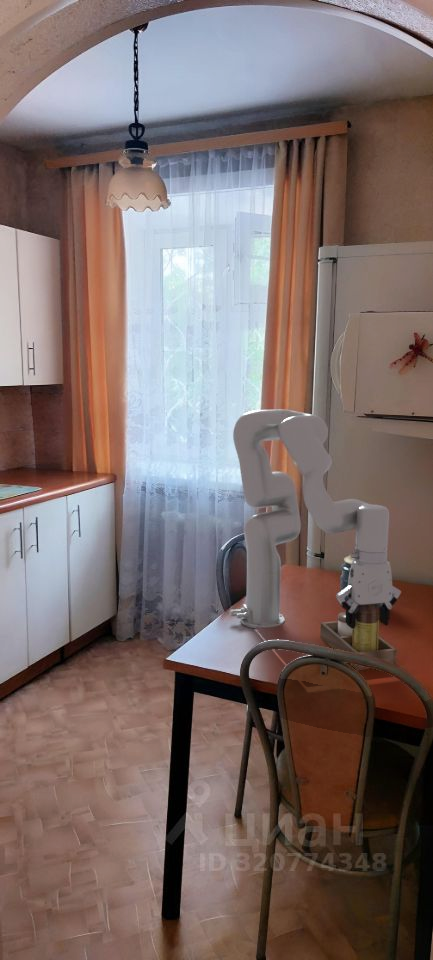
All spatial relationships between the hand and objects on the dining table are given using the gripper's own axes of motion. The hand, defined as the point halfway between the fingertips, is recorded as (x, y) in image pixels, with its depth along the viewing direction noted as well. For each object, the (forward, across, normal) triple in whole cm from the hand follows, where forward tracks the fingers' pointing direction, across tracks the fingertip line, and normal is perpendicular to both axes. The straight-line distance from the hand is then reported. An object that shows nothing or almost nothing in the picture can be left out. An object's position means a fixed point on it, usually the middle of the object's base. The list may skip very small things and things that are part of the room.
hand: (367, 624), depth 162 cm
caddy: (+10, 0, +5) cm, 11 cm away
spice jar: (+9, 0, +10) cm, 13 cm away
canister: (+10, +18, +37) cm, 42 cm away
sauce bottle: (+9, 0, 0) cm, 9 cm away
